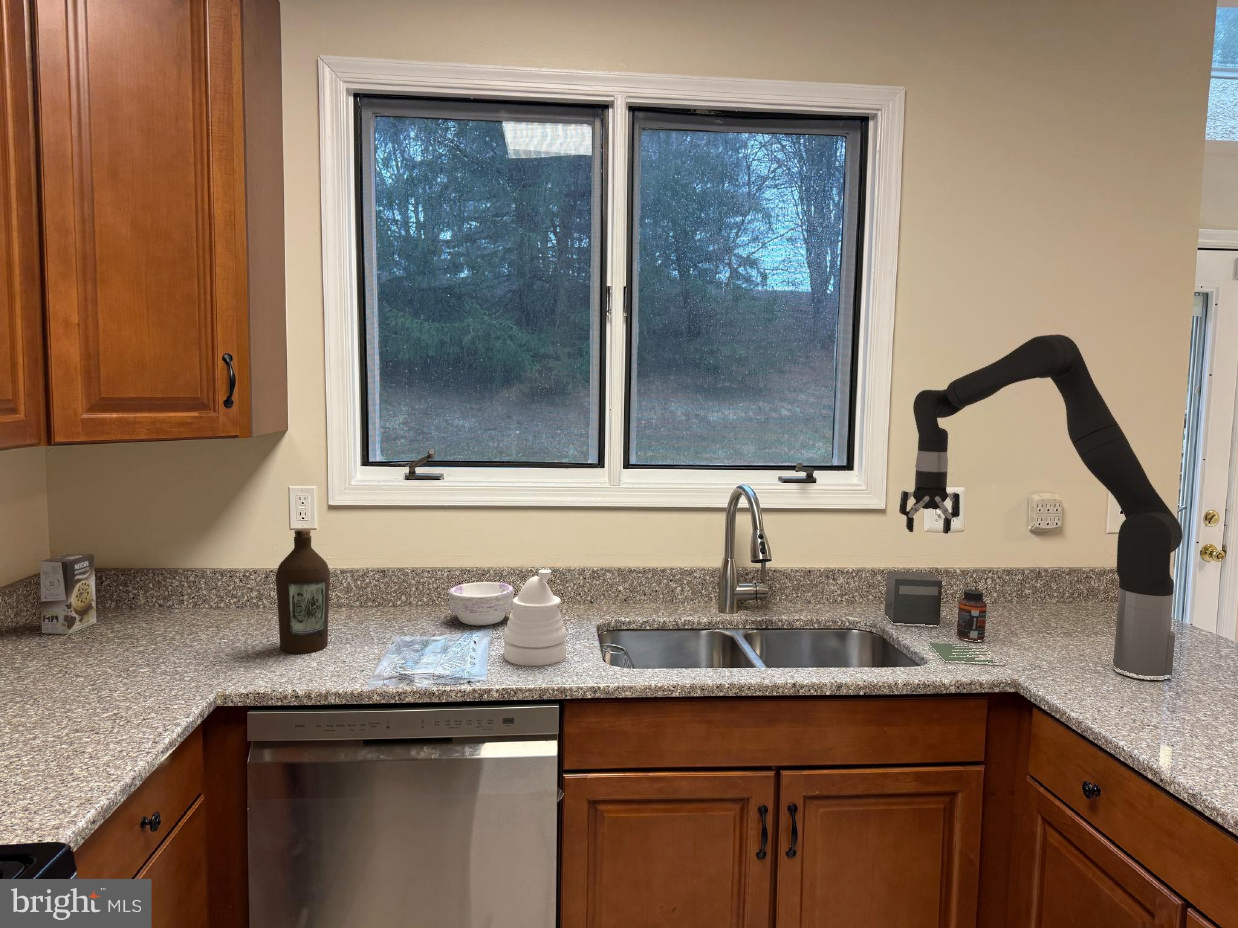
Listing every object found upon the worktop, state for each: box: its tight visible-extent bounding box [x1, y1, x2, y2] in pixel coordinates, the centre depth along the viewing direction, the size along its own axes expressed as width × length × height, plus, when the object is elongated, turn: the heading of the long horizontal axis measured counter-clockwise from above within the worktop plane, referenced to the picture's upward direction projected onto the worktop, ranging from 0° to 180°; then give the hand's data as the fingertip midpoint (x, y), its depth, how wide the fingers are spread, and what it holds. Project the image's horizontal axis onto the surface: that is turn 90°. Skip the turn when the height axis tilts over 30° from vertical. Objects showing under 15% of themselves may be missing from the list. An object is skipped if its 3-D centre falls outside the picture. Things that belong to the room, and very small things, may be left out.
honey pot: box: [503, 569, 567, 667], centre depth 166 cm, size 13×13×18 cm
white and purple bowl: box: [448, 581, 515, 627], centre depth 191 cm, size 15×15×8 cm
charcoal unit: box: [884, 570, 943, 627], centre depth 198 cm, size 11×10×12 cm
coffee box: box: [39, 553, 97, 635], centre depth 179 cm, size 9×6×16 cm
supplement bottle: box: [956, 588, 988, 641], centre depth 184 cm, size 6×6×11 cm
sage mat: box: [928, 642, 997, 663], centre depth 173 cm, size 12×12×1 cm
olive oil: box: [275, 528, 331, 655], centre depth 168 cm, size 11×11×25 cm
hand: (928, 532), depth 204 cm, fingers open, 8 cm apart
